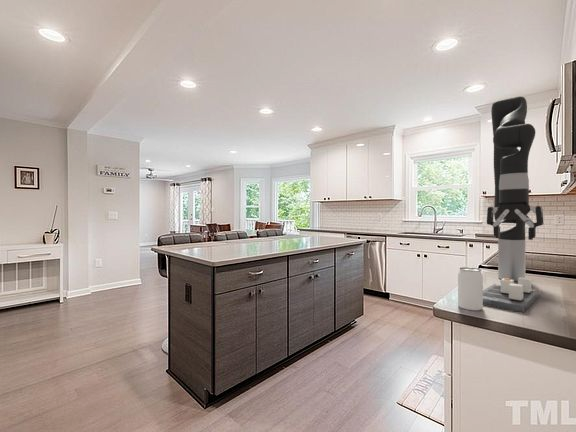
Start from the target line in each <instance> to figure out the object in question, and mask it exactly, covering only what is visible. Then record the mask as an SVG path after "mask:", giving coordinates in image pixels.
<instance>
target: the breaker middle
mask: <svg viewBox="0 0 576 432" xmlns="http://www.w3.org/2000/svg"><path fill="white" fill-rule="evenodd" d="M511 283H513V284H515V281H514V280H512V279H508V278H503V279H500V285H501V292H502V293H508V294H509V284H511Z"/></svg>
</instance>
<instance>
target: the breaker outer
mask: <svg viewBox="0 0 576 432" xmlns="http://www.w3.org/2000/svg"><path fill="white" fill-rule="evenodd" d="M509 298H510V299H516V300H522V299H523V285H520V284H518V283H514V284H513V283H511V284H509Z"/></svg>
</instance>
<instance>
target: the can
mask: <svg viewBox="0 0 576 432" xmlns="http://www.w3.org/2000/svg"><path fill="white" fill-rule="evenodd" d="M483 279H484V276H483V273H482V269H480V268H477V267H470V266H469V267H468V266H467V267H465V266H464V267H459V271H458V272H457V306H458V307H459V308H460V309H463V310H466V311H472V312H475V311H476V312H479V311H482V310H483V307H484V305H483V290H484V287H483V286H484V284H483V283H484V280H483Z"/></svg>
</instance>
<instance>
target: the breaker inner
mask: <svg viewBox="0 0 576 432" xmlns="http://www.w3.org/2000/svg"><path fill="white" fill-rule="evenodd" d="M517 284H520V285H523V292H528V293H530V292H531V289H532V278H529V277H525V278H522V277H520V278H518V281H517Z"/></svg>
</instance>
